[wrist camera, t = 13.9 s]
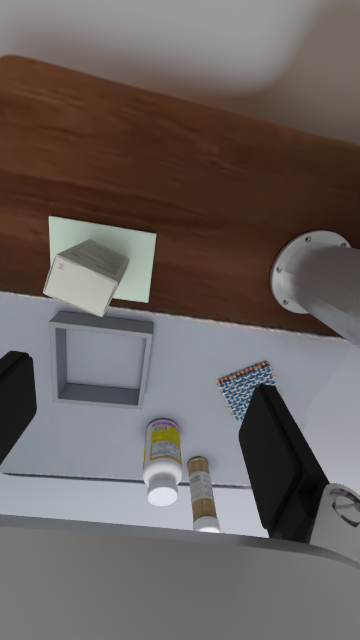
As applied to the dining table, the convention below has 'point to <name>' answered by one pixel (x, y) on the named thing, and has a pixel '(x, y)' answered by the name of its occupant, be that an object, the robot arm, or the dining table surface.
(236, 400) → the woven mat
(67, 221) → the pad
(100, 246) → the skincare box
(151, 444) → the supplement bottle
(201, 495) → the sprinkles bottle
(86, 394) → the bin
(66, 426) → the dining table surface
